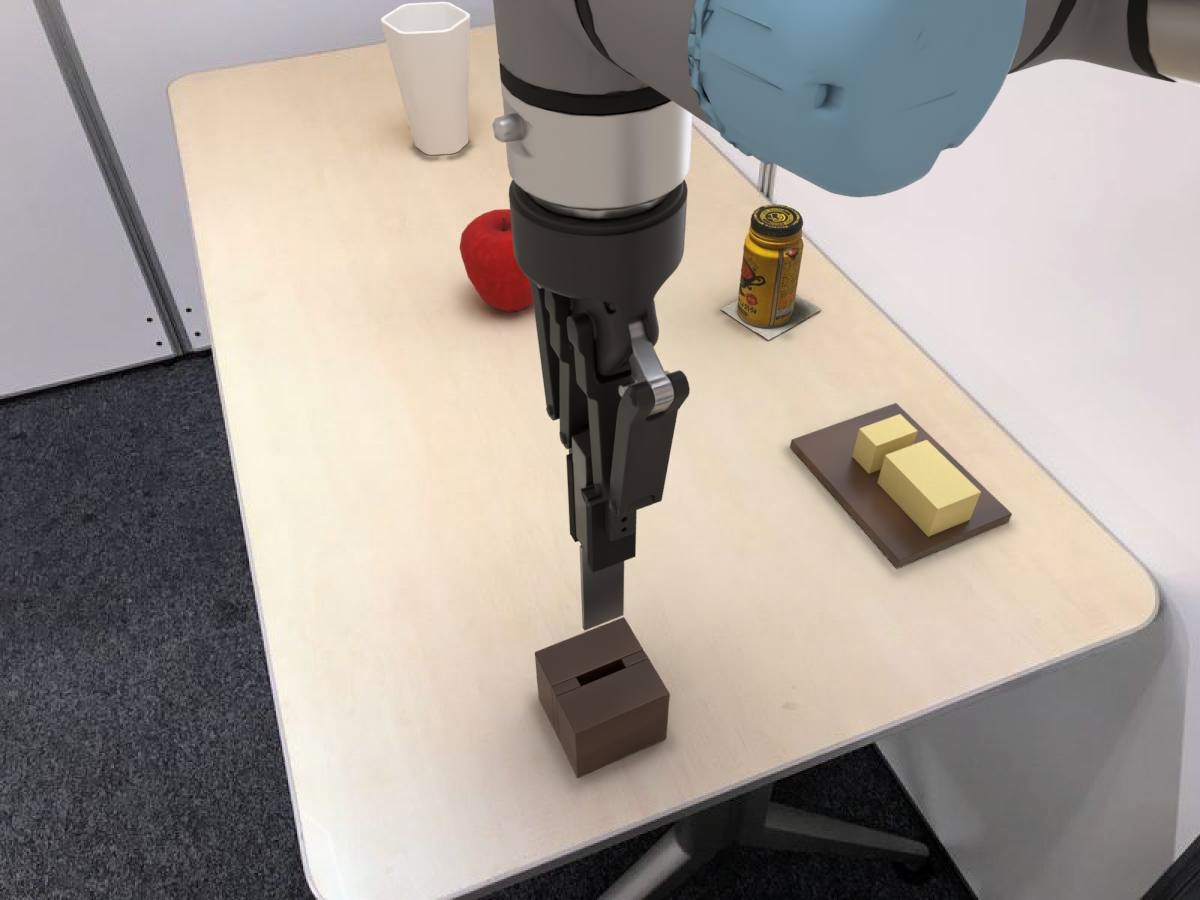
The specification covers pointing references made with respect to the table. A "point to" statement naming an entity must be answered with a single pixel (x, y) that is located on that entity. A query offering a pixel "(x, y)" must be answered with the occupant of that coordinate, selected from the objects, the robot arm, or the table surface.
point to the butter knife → (600, 587)
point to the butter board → (870, 502)
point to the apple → (494, 262)
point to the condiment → (771, 273)
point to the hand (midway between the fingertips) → (602, 544)
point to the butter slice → (882, 441)
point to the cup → (432, 72)
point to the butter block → (928, 487)
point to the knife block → (602, 696)
